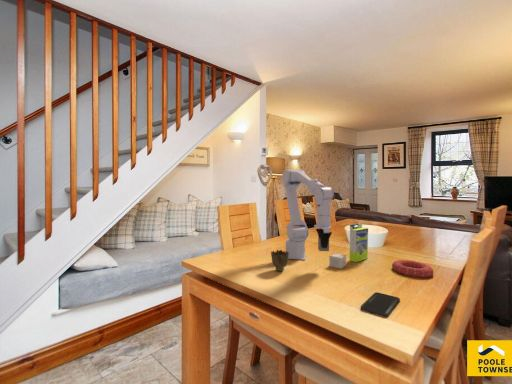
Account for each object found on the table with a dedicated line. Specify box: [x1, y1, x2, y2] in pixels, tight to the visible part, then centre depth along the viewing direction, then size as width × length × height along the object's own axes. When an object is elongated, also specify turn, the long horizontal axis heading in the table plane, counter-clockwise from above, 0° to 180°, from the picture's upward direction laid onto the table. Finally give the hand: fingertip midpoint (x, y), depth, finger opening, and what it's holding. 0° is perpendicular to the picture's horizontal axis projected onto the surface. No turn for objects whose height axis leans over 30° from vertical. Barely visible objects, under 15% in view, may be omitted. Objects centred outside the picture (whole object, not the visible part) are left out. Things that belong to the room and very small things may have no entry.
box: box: [349, 222, 369, 263], centre depth 135 cm, size 10×4×17 cm, turn 128°
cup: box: [270, 249, 289, 272], centre depth 119 cm, size 8×7×8 cm
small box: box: [328, 253, 347, 269], centre depth 125 cm, size 6×6×5 cm
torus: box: [391, 259, 434, 279], centre depth 117 cm, size 16×14×4 cm
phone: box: [360, 291, 401, 318], centre depth 86 cm, size 8×1×15 cm
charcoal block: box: [317, 236, 330, 252], centre depth 120 cm, size 4×4×5 cm
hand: (323, 246), depth 120 cm, fingers closed on charcoal block, 4 cm apart
